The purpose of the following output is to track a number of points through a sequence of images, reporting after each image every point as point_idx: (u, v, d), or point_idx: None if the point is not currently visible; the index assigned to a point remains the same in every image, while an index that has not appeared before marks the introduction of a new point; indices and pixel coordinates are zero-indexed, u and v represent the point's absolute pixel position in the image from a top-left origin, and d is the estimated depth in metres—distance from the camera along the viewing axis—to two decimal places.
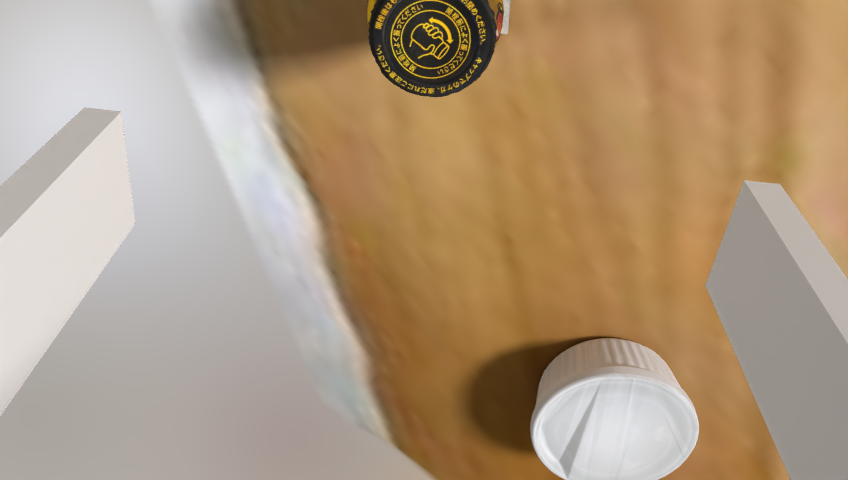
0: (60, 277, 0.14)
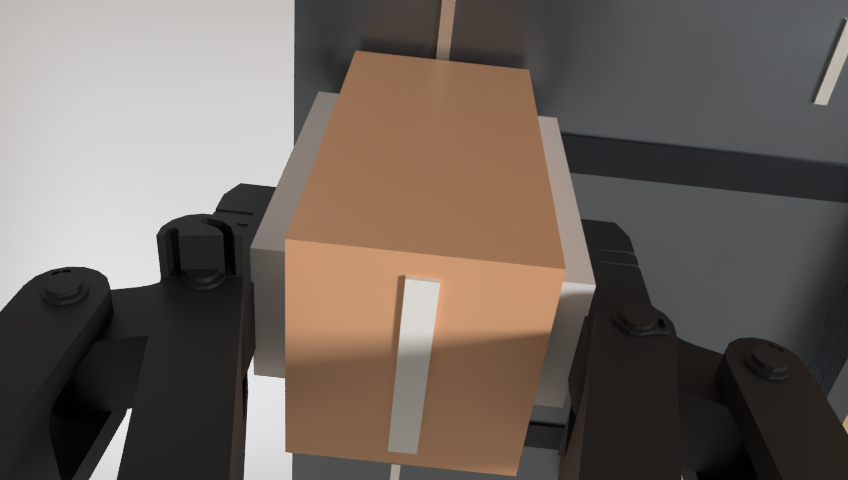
0: None
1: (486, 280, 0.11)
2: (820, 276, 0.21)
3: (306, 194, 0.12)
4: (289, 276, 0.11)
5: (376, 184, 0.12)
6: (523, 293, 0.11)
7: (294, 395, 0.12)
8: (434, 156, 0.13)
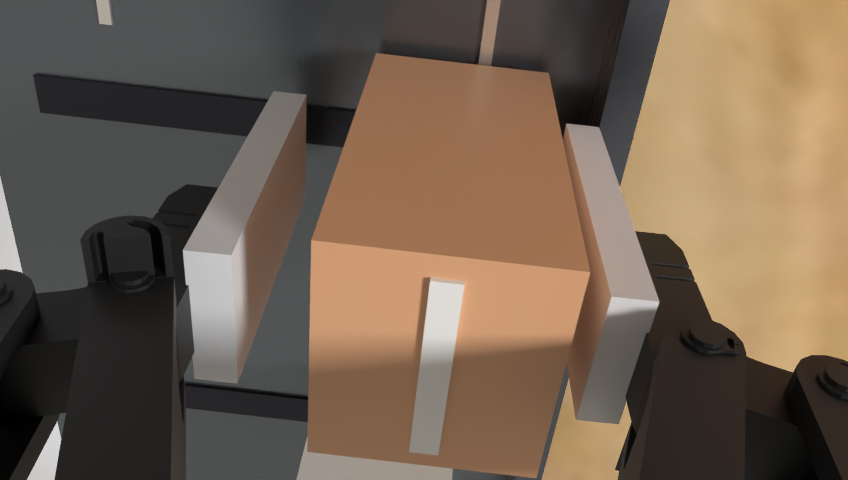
0: (275, 240, 0.15)
1: (510, 284, 0.11)
2: None
3: (331, 196, 0.12)
4: (314, 277, 0.11)
5: (400, 186, 0.12)
6: (547, 294, 0.11)
7: (317, 395, 0.13)
8: (456, 159, 0.13)
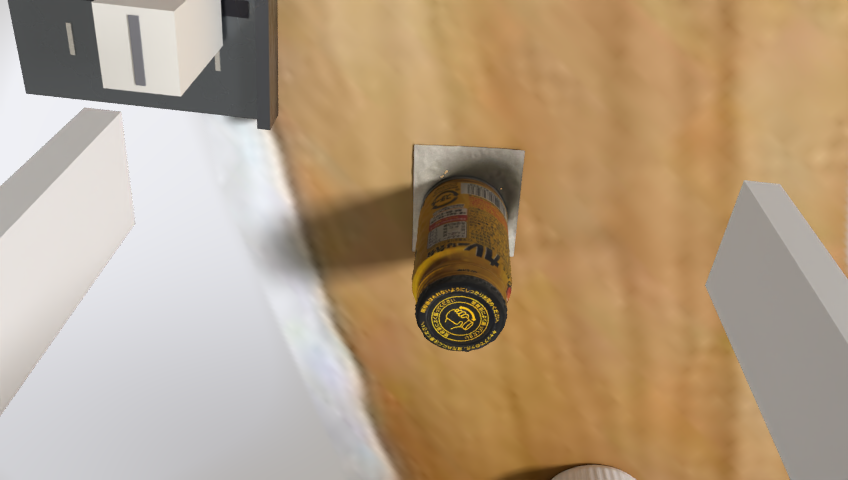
0: (60, 277, 0.14)
1: None
2: None
3: None
4: None
5: None
6: None
7: None
8: None
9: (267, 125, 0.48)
